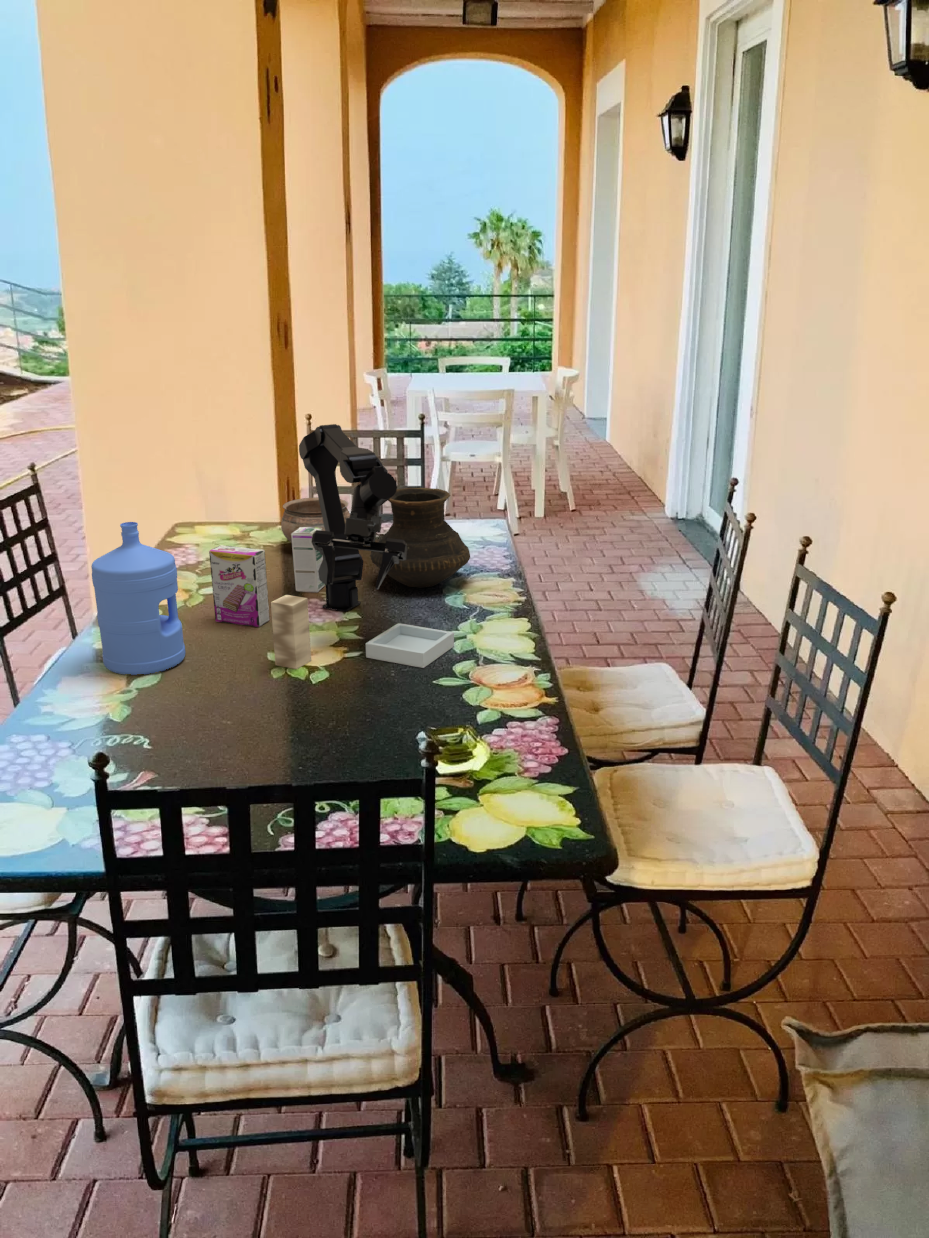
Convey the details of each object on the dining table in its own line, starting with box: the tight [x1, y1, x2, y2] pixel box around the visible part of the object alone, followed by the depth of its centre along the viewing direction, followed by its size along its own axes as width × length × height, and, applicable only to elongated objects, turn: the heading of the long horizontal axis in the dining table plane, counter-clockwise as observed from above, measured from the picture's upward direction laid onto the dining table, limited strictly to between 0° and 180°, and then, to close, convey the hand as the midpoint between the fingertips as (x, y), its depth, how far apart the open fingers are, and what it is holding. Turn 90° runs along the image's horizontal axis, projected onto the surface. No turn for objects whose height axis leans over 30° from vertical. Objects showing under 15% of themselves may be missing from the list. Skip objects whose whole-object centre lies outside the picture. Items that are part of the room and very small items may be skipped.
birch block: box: [270, 594, 312, 670], centre depth 203 cm, size 5×5×13 cm
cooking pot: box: [280, 496, 351, 544], centre depth 281 cm, size 25×19×12 cm
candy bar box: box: [208, 544, 271, 628], centre depth 226 cm, size 11×5×16 cm, turn 71°
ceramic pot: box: [370, 487, 471, 588], centre depth 250 cm, size 24×24×22 cm
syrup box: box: [291, 527, 325, 593], centre depth 248 cm, size 6×6×14 cm
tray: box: [365, 622, 455, 669], centre depth 210 cm, size 13×13×3 cm
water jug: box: [91, 521, 186, 676], centre depth 202 cm, size 16×16×28 cm
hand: (353, 586), depth 208 cm, fingers open, 9 cm apart
